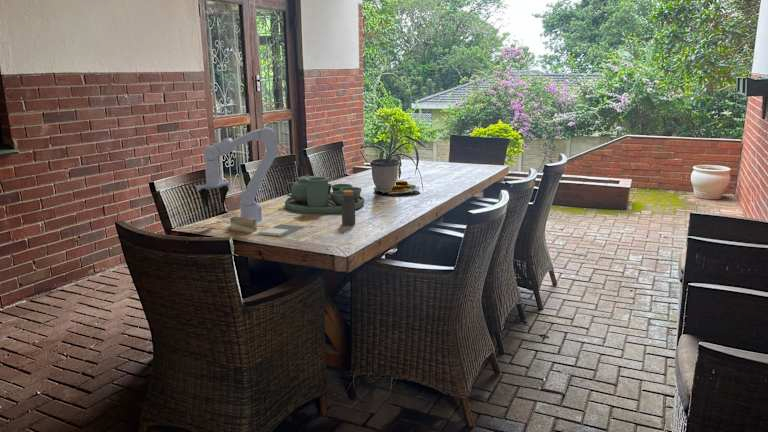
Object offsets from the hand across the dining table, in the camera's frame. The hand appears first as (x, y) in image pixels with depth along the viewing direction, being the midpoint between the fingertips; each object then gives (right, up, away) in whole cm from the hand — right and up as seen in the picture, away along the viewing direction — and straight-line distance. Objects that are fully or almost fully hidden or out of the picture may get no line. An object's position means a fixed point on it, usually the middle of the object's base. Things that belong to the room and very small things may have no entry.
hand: (214, 204), depth 265 cm
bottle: (+59, -9, +2) cm, 59 cm away
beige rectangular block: (+15, -12, -9) cm, 21 cm away
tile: (+25, -11, -14) cm, 31 cm away
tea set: (+44, 0, +43) cm, 61 cm away
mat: (+31, -12, -11) cm, 35 cm away
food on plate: (+83, +8, +77) cm, 113 cm away
